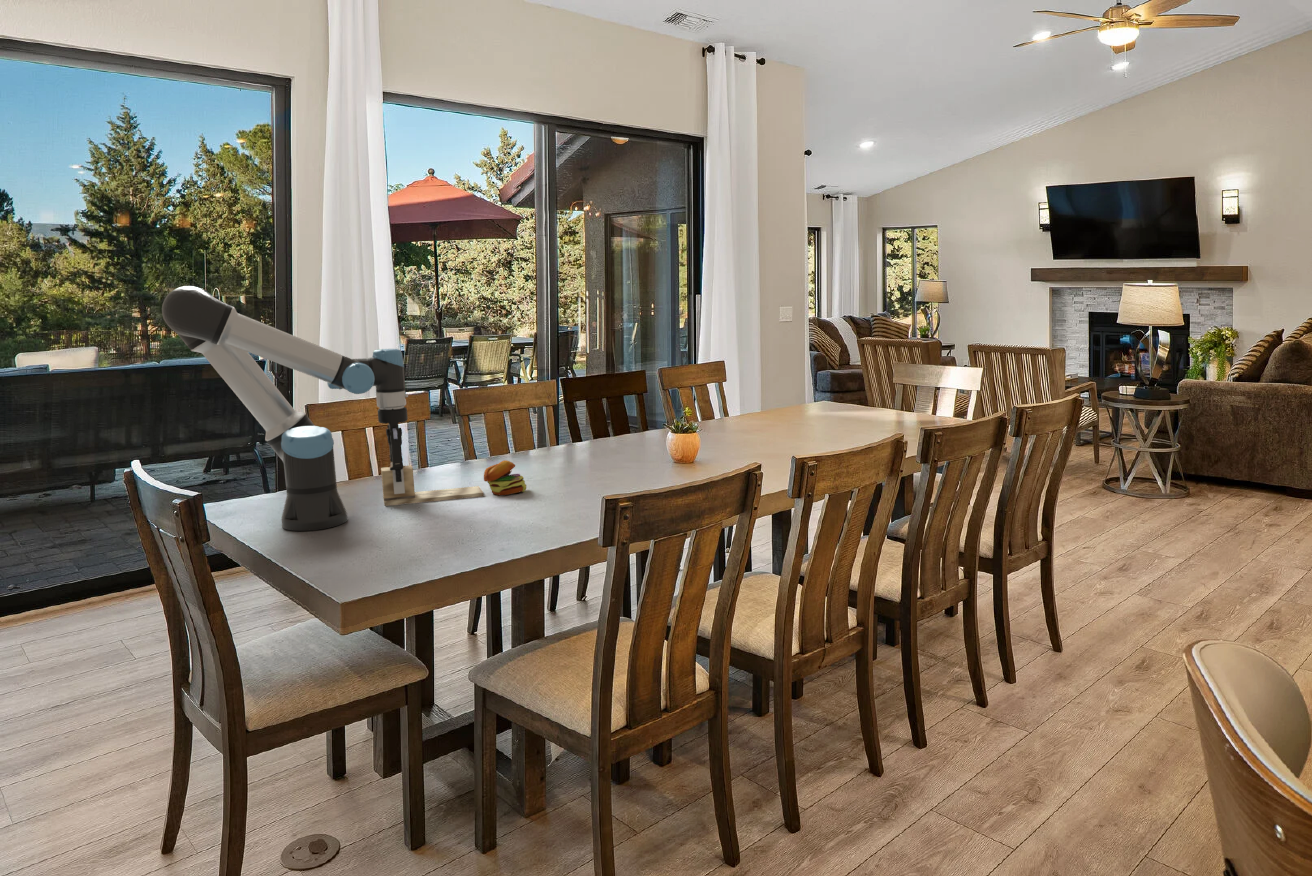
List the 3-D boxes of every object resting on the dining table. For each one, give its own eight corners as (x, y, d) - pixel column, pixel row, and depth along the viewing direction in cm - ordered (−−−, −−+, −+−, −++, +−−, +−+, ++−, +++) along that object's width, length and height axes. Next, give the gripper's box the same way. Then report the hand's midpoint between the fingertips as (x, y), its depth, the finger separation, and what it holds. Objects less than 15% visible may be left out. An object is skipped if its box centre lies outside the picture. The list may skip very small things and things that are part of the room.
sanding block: (384, 500, 245) (381, 471, 243) (383, 496, 249) (380, 467, 248) (415, 497, 247) (412, 468, 246) (413, 493, 252) (411, 465, 250)
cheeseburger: (524, 495, 250) (514, 460, 248) (487, 505, 251) (476, 471, 249) (530, 486, 260) (519, 453, 258) (494, 496, 261) (483, 463, 259)
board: (384, 506, 243) (384, 502, 243) (383, 498, 251) (383, 495, 251) (483, 496, 251) (483, 492, 251) (479, 489, 259) (478, 485, 259)
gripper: (409, 411, 235) (415, 496, 239) (404, 401, 256) (409, 480, 260) (378, 413, 233) (385, 499, 236) (375, 403, 253) (382, 482, 257)
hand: (398, 489), depth 248 cm, fingers open, 10 cm apart
